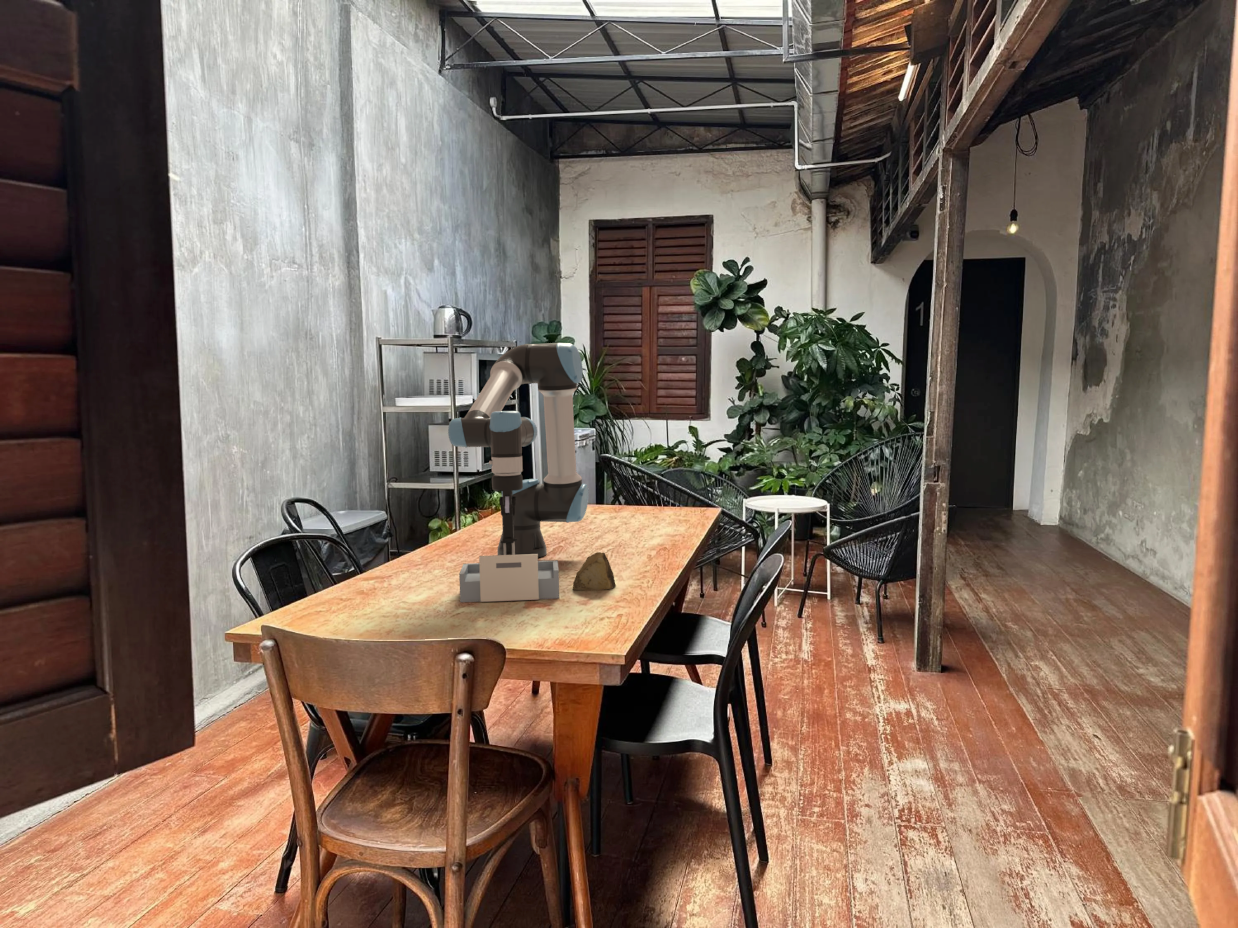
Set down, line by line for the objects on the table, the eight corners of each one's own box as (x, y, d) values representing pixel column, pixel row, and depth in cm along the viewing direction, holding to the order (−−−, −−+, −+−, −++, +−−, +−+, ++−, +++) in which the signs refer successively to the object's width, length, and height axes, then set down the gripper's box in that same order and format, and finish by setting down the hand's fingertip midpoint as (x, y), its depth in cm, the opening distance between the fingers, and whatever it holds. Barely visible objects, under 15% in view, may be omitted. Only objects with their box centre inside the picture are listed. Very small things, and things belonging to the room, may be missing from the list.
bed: (464, 590, 218) (463, 563, 217) (558, 586, 220) (557, 560, 219) (460, 602, 206) (459, 573, 205) (559, 598, 208) (558, 570, 207)
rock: (563, 583, 213) (599, 581, 209) (568, 553, 218) (603, 550, 214) (581, 601, 222) (616, 599, 218) (586, 571, 226) (620, 568, 222)
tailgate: (480, 600, 206) (479, 555, 205) (538, 598, 207) (537, 553, 206) (480, 601, 205) (479, 556, 204) (538, 599, 206) (537, 554, 205)
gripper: (493, 471, 215) (495, 563, 217) (490, 476, 202) (493, 574, 204) (522, 470, 215) (525, 562, 217) (521, 476, 202) (524, 573, 205)
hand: (509, 568), depth 211 cm, fingers closed
